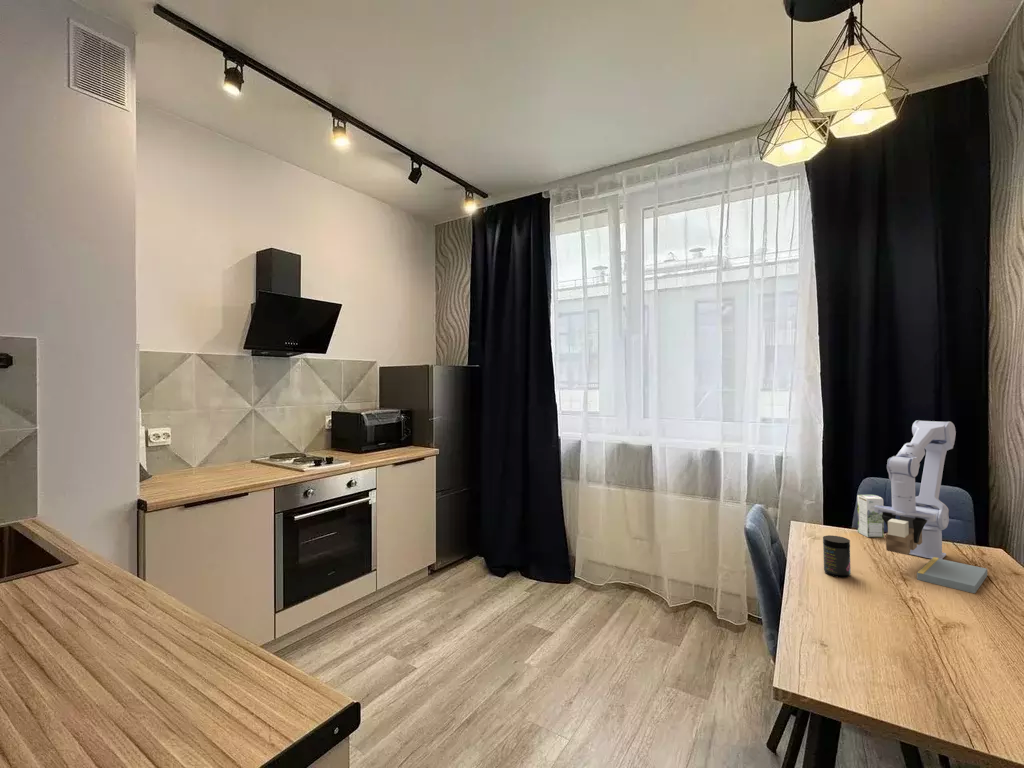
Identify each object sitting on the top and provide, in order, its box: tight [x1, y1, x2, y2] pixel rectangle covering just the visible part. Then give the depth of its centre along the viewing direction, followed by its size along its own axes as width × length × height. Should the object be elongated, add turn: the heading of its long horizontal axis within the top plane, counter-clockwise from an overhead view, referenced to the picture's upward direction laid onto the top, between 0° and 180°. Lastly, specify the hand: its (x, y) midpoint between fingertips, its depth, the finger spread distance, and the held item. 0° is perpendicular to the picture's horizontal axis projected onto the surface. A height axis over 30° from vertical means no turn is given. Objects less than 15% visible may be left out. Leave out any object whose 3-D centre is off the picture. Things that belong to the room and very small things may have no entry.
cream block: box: [887, 518, 909, 538], centre depth 142 cm, size 4×4×4 cm
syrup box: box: [856, 494, 885, 538], centre depth 175 cm, size 6×6×14 cm
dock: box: [916, 557, 988, 594], centre depth 137 cm, size 12×18×2 cm, turn 127°
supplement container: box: [822, 535, 852, 579], centre depth 142 cm, size 7×7×10 cm
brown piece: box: [885, 528, 922, 556], centre depth 146 cm, size 5×16×5 cm, turn 127°
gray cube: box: [899, 516, 915, 529], centre depth 150 cm, size 4×4×4 cm
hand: (904, 539), depth 146 cm, fingers closed on brown piece, 5 cm apart
